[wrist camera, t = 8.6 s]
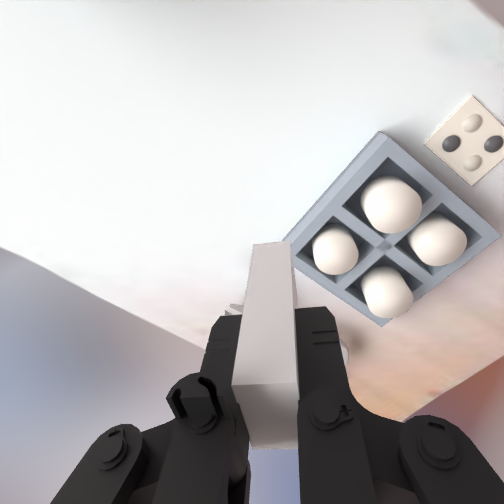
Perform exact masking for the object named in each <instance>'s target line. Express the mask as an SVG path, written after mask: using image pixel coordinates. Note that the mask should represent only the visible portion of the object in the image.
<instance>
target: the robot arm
mask: <svg viewBox="0 0 504 504" xmlns="http://www.w3.org/2000/svg"><path fill="white" fill-rule="evenodd" d="M208 341H209V342H208V343H207V347H206V353H205V355H204V358H203V362H202V366H201V370H200V372H198V373H193V374H189V375H188V376H186V377H184V378H182V379H180V380H179V381H178V382H177V383H176V384H175V385H174V386H173V387H172V388H171V390H170V391H169V393H168V395H167V397H166V400H167V402H168V404H169V405H170V407H171V409H172V411H173V413H174V415H175V417H176V418H175V419H173V420H171V421H169V422H167V423H165V424H162V425H159V426H157V427H154V428H151V429H148V430H146V431H143V432H140V430H139V429H138V428H137V427H135V426H133V425H132V424H121V425H118V426H115V427H112V428H110V429H109V430H107V431H106V432H105V433H103V434H102V435H100V436H99V437H98V439H97V440H96V441H95V442H94V443H93V444H92V445H91V447H90V448H89V449H88V451H87V452H86V454H85V455H84V457H83V458H82V459H81V461H80V462H79V464H78V465H77V466H76V468H75V469H74V471H73V472H72V474H71V475H70V476H69V478H68V479H67V481H66V482H65V483H64V485H63V486H62V488H61V489H60V490H59V492H58V493H57V495H56V496H55V497H54V499H53V500H52V502H51V503H50V504H249V494H250V479H251V471H250V464H249V461H248V450H249V441H250V443H251V447H252V449H298V454H299V477H300V500H301V504H504V483H503V481H502V480H501V479H500V477H499V476H498V475H497V473H496V472H495V471H494V470H493V468H492V467H491V466H490V465H489V463H488V462H487V460H486V459H485V458H484V457H483V455H482V454H481V453H480V451H479V450H478V449H477V448H476V446H475V445H474V444H473V442H472V441H471V440H470V439H469V438H468V437H467V436H466V435H465V434H464V433H463V432H462V431H461V430H460V429H459V428H458V427H457V426H455V425H453V424H452V423H450V422H448V421H447V420H445V419H442V418H438V417H435V416H431V415H421V416H415V417H413V418H411V419H409V420H407V421H406V422H405V423H402V422H398V421H395V420H391V419H388V418H384V417H381V416H378V415H376V414H373V413H371V412H370V411H368V410H367V409H365V408H364V407H363V406H362V405H360V404H359V403H358V402H357V401H356V399H355V398H354V396H353V395H352V392H351V390H350V387H349V383H348V378H347V373H346V369H345V364H344V359H343V355H342V350H341V345H340V341H339V336H338V332H337V327H336V322H335V317H334V316H333V315H332V313H331V312H330V311H329V310H328V309H327V308H326V306H324V307H312V308H300V309H298V302H297V290H296V283H295V275H294V268H293V261H292V253H291V246H290V241H281V242H273V243H264V244H256V245H253V250H252V257H251V263H250V269H249V276H248V282H247V289H246V295H245V301H244V308H243V314H239V315H226V316H220V317H219V319H218V320H217V321H216V323H215V324H214V325H213V326H212V328H211V332H210V336H209V340H208Z"/></svg>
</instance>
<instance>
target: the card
mask: <svg viewBox="0 0 504 504" xmlns="http://www.w3.org/2000/svg"><path fill="white" fill-rule="evenodd" d="M424 144H425V145H426V146H427V147H428V148H429V149H430V150H431V151H432V152H433V153H435V154H436V155H437V156H438V157H439V158H440V159H441V160H442V161H444V162H445V163H446V164H447V165H448V166H449V167H450V168H451V169H453V170H454V171H455V172H456V173H457V174H458V175H459V176H460V177H461V178H463V179H464V180H465V181H466V182H467V183H468V184H469V185H470V186H472V185H474V184H475V183H476V182H477V181H478V180H479V179H480V178H482V177H483V176H484V175H485V174H486V173H487V172H488V171H490V170H491V169H492V168H493V167H494V166H495V165H496V164H497V163H499V162H500V161H501V160H502V159H503V158H504V127H503V126H502V125H501V124H500V123H499V122H498V121H497V120H496V119H495V118H494V117H493V116H492V115H491V114H490V113H489V112H488V111H487V110H486V109H485V108H484V107H483V106H482V105H481V104H480V103H479V102H478V101H477V100H476V99H475V98H474V97H473V96H470V97H469V98H468V99H467V100H466V101H465V102H464V103H463V104H462V105H461V106H460V107H459V108H458V109H457V110H456V111H455V112H454V113H453V114H452V115H451V116H450V117H449V118H448V119H447V120H446V121H445V122H444V123H443V124H442V125H441V127H440V128H439V129H438V130H437V131H436V132H435V133H434V134H433V135H432V136H431V137H430V138H429V139H428V140H427V141H426V142H425V143H424Z"/></svg>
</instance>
